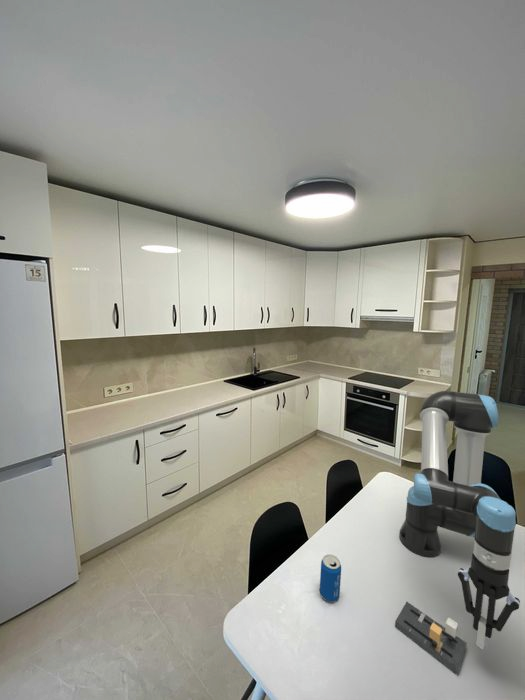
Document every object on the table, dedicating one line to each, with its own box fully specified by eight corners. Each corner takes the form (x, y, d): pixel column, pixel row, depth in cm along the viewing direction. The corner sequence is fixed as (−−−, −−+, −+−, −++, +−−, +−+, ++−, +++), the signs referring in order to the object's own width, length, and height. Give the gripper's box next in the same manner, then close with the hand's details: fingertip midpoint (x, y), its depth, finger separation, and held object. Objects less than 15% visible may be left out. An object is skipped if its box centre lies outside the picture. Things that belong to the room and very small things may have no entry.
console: (394, 626, 86) (395, 620, 86) (406, 607, 92) (406, 601, 92) (457, 675, 75) (458, 668, 74) (466, 649, 81) (466, 642, 81)
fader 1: (428, 642, 80) (430, 628, 80) (431, 636, 82) (432, 622, 81) (438, 649, 78) (439, 635, 78) (440, 643, 80) (442, 629, 80)
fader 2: (444, 636, 82) (445, 623, 81) (446, 630, 83) (448, 617, 83) (454, 643, 80) (455, 629, 80) (456, 637, 82) (458, 623, 81)
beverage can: (328, 607, 91) (330, 572, 90) (315, 590, 97) (317, 557, 96) (343, 598, 94) (345, 565, 93) (330, 582, 100) (332, 550, 99)
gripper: (456, 552, 76) (448, 633, 78) (522, 586, 67) (510, 677, 69) (463, 539, 82) (455, 615, 84) (525, 568, 72) (514, 653, 74)
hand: (480, 643), depth 76 cm, fingers closed
